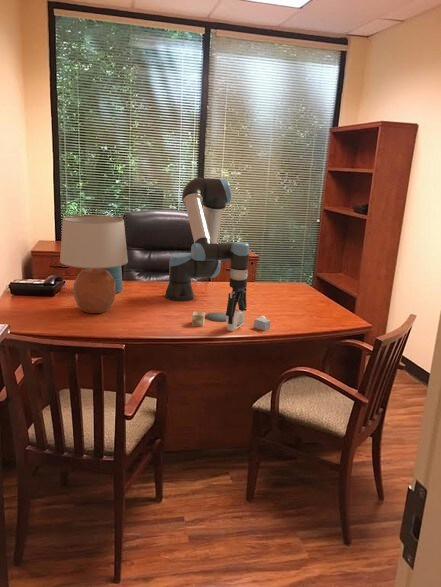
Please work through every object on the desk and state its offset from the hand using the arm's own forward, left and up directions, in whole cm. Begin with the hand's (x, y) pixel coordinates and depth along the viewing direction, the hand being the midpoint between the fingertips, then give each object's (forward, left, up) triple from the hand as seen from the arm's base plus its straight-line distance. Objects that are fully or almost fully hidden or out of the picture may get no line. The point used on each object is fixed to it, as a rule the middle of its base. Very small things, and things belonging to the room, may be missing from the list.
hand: (235, 327), depth 214 cm
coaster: (-13, +9, 0) cm, 16 cm away
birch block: (-16, -5, 0) cm, 17 cm away
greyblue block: (+10, +7, 0) cm, 12 cm away
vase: (-84, +15, -1) cm, 85 cm away
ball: (+8, +12, 0) cm, 14 cm away
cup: (0, 0, -1) cm, 1 cm away
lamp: (-65, -17, 0) cm, 67 cm away
